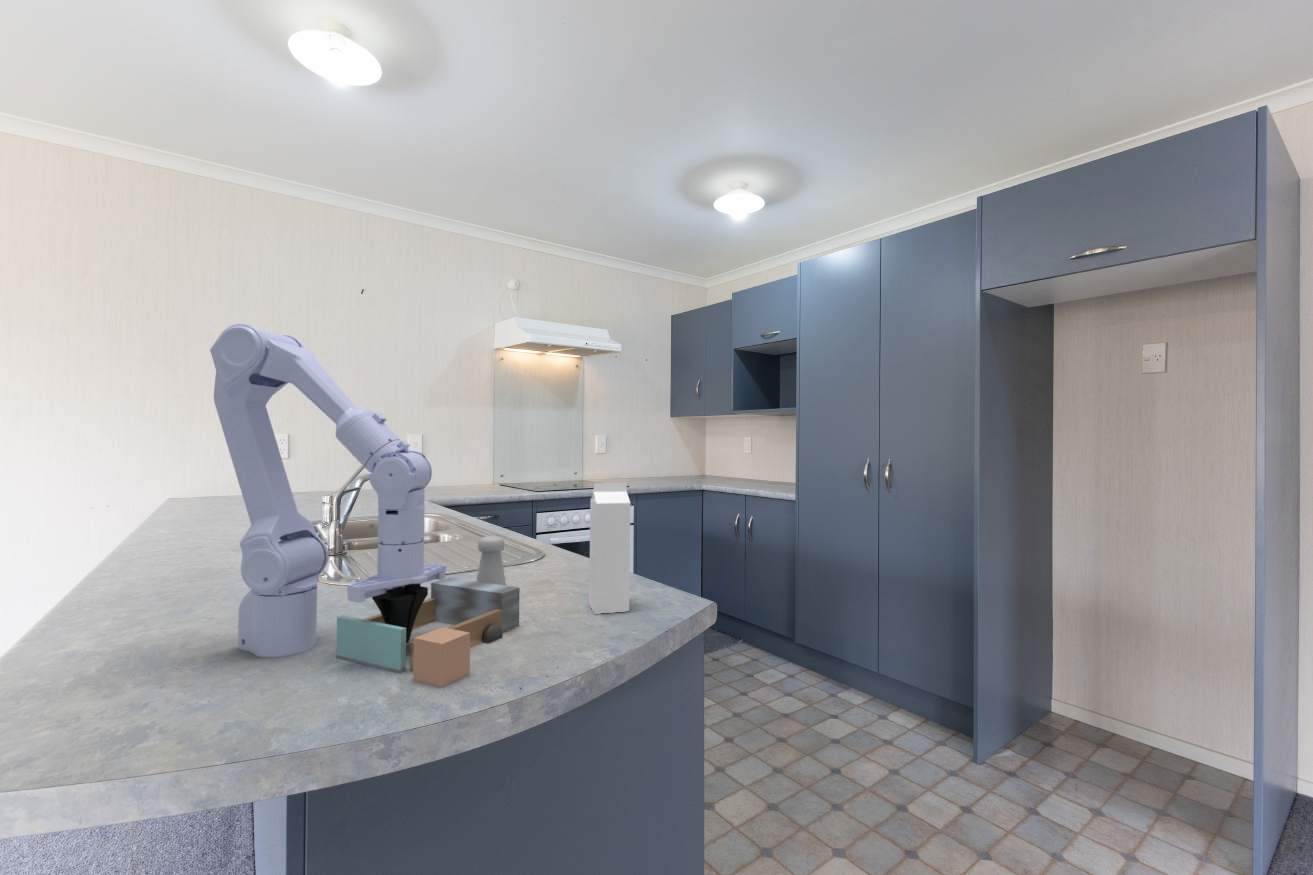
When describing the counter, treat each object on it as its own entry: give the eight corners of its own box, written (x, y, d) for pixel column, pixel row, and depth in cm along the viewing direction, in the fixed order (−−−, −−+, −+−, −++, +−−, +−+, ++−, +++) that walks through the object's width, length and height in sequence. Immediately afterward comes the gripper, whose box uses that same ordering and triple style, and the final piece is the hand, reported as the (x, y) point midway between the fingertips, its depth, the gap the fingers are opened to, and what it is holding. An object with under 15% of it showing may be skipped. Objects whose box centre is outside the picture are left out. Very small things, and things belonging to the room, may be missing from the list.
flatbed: (331, 658, 79) (332, 607, 79) (443, 618, 97) (444, 576, 97) (423, 680, 72) (423, 624, 72) (525, 633, 90) (525, 588, 90)
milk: (629, 612, 102) (631, 484, 102) (594, 615, 100) (596, 484, 100) (621, 602, 108) (623, 481, 108) (588, 605, 106) (590, 481, 106)
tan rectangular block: (413, 688, 70) (413, 637, 70) (441, 675, 74) (442, 627, 74) (441, 696, 68) (442, 643, 68) (469, 681, 72) (470, 632, 72)
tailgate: (335, 661, 77) (336, 617, 77) (342, 658, 78) (343, 615, 78) (399, 676, 72) (400, 629, 72) (406, 674, 73) (406, 627, 73)
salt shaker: (498, 620, 96) (499, 540, 96) (465, 618, 97) (466, 538, 97) (513, 610, 102) (514, 534, 102) (483, 608, 103) (484, 533, 103)
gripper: (376, 553, 71) (374, 666, 71) (462, 536, 84) (461, 631, 84) (336, 548, 74) (334, 656, 74) (425, 532, 87) (424, 624, 87)
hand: (399, 642), depth 79 cm, fingers closed
